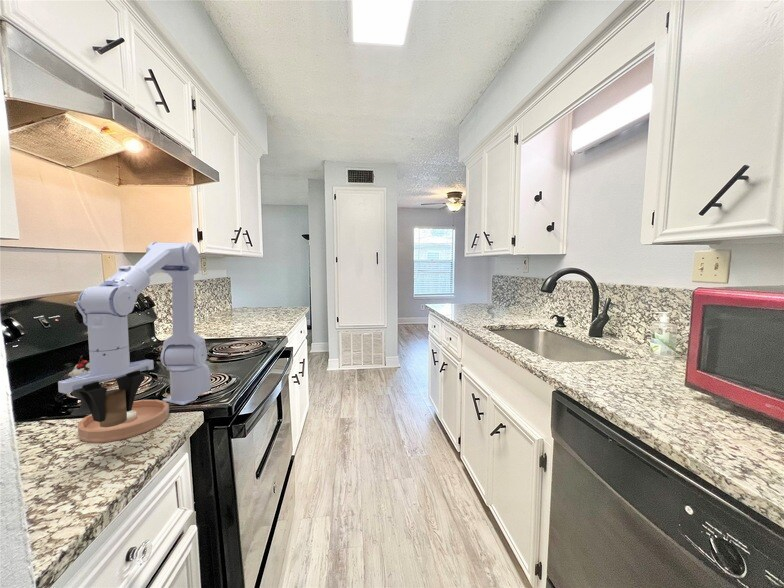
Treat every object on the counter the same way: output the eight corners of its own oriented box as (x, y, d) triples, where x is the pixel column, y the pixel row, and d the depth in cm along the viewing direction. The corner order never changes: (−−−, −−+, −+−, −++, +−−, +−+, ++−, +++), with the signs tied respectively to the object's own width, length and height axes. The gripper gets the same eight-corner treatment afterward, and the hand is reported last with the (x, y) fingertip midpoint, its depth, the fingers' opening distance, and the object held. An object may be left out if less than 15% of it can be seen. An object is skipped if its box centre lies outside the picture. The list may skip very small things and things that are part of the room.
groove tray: (140, 405, 83) (140, 396, 83) (183, 414, 78) (183, 405, 78) (61, 434, 68) (60, 423, 68) (108, 449, 63) (107, 437, 62)
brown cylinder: (118, 416, 63) (117, 387, 63) (131, 419, 62) (130, 390, 62) (94, 425, 59) (92, 395, 59) (108, 428, 58) (106, 398, 58)
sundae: (79, 419, 75) (75, 358, 74) (58, 415, 76) (54, 356, 75) (109, 407, 81) (106, 351, 80) (89, 404, 83) (86, 350, 81)
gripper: (136, 338, 68) (139, 397, 69) (45, 355, 54) (51, 429, 55) (159, 341, 65) (161, 402, 67) (70, 359, 52) (75, 436, 53)
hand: (113, 415), depth 61 cm, fingers closed on brown cylinder, 4 cm apart
